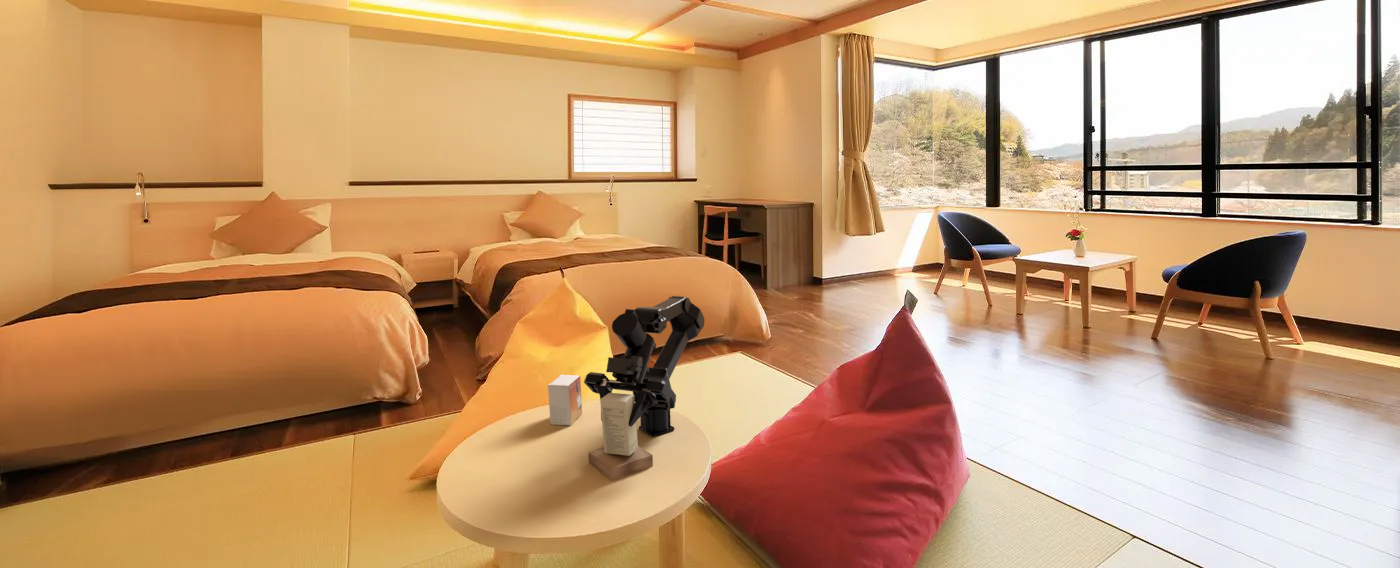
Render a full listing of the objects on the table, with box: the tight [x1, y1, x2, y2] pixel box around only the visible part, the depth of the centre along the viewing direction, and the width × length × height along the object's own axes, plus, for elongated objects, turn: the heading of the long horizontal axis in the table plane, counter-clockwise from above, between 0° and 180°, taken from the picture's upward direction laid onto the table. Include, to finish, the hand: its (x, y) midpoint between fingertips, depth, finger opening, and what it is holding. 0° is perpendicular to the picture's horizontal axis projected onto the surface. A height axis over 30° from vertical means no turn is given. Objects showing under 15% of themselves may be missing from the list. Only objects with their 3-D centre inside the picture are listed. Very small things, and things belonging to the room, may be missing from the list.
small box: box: [547, 374, 583, 426], centre depth 160 cm, size 8×6×10 cm
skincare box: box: [599, 392, 639, 456], centre depth 135 cm, size 6×4×12 cm
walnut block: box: [587, 445, 654, 481], centre depth 137 cm, size 10×10×3 cm
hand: (616, 423), depth 134 cm, fingers closed on skincare box, 6 cm apart
